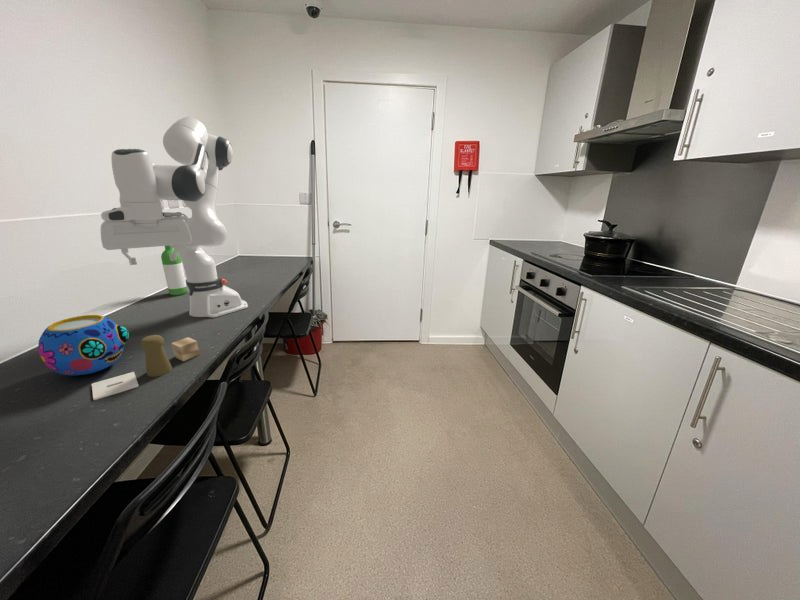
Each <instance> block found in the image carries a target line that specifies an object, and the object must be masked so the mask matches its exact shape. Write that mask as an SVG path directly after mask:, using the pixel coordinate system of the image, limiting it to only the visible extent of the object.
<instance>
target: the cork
mask: <svg viewBox="0 0 800 600" xmlns="http://www.w3.org/2000/svg"><path fill="white" fill-rule="evenodd" d="M164 343H165V340H164V337H162V336H161V335H159V334H151V335H148V336H145V337H143V338H142V339H141V341H140V347H141V349H143V350H144V355H145V356H144V357H145V368H146V376H148V377H151V378H157V377H160V376H163V375H167V374H168V373H170V372H171V371H172V370H173V366H172V365H171V362H170V359H169V357H168V355H167V352H166V351H165V347H164V346H163V345H164Z"/></svg>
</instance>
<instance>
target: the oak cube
mask: <svg viewBox="0 0 800 600" xmlns="http://www.w3.org/2000/svg"><path fill="white" fill-rule="evenodd" d="M171 347H172V353H173V355H174V358H175V359H178V360H180V361H181V362H185V361H188V360H190V359H192V358H195V357H197V356H200V355H201V354H200V349H199V345H198V340H195V339H193V338H191V337H189V336H188V337H185V338H182V339H180V340H176V341H173V342H171Z"/></svg>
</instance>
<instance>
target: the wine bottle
mask: <svg viewBox="0 0 800 600" xmlns="http://www.w3.org/2000/svg"><path fill="white" fill-rule="evenodd" d="M173 251H174V249H173V248H172V246H171V245H170V246H164V250H163V251H162V253H161V255H160V256H161V257H160V258H161V264H162V267H163V272H164V276H165V281H166V285H167V290H168V293H169V295H171V296H174V297H175V296H182V295H185V294H188V291H187V287H186V281H187V279H186V275H185V270H184V266H183V263H182V261H181V259H180V257H179V255H178V254H176V258H177V260H176V261H171V260H170V256H169V254H172V253H173Z"/></svg>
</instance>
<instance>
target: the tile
mask: <svg viewBox="0 0 800 600" xmlns="http://www.w3.org/2000/svg"><path fill="white" fill-rule="evenodd" d="M139 387H140V386H139V382H138V380H137V376H136V373H135V371H131V372H128V373H124V374H120V375H118V376H114V377H111V378H107V379H103V380H100V381H97V382H92V383H91V390H92V398H93V401H96V400H99V399H104V398H106V397H110V396H112V395H113V396H114V395H116V394H120V393H123V392H126V391H130V390H133V389H135V388H139Z"/></svg>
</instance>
